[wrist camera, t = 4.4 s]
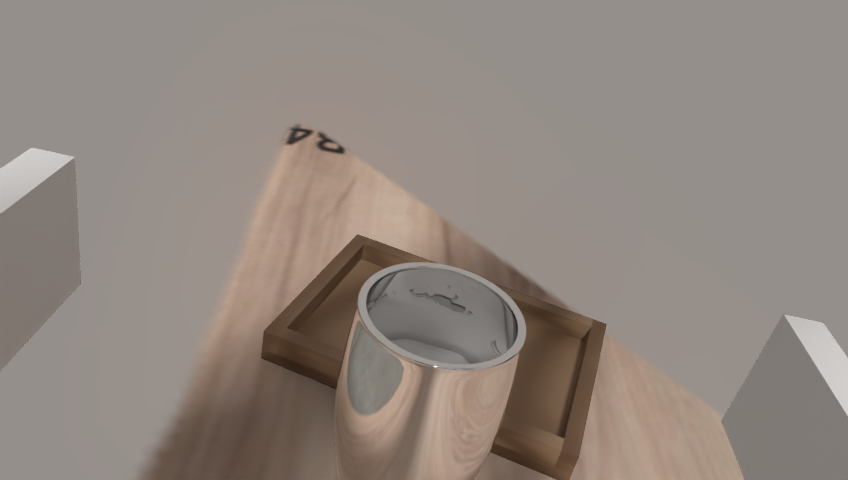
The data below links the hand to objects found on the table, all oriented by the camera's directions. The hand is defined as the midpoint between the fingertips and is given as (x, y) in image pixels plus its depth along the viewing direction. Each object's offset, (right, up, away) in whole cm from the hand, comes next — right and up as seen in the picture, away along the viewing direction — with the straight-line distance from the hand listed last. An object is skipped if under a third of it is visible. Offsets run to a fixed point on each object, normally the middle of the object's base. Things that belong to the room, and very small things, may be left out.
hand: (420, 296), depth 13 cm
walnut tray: (+1, -7, +35) cm, 36 cm away
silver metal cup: (-2, -14, +21) cm, 26 cm away
